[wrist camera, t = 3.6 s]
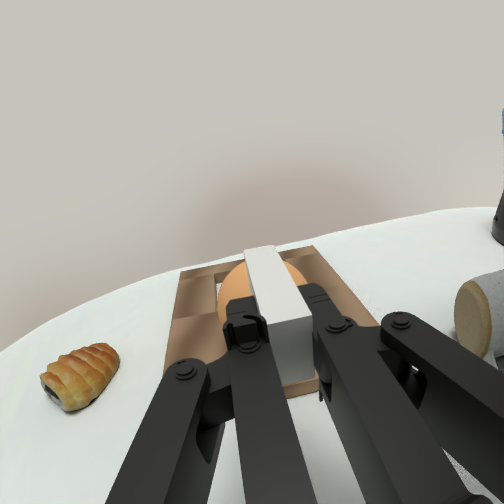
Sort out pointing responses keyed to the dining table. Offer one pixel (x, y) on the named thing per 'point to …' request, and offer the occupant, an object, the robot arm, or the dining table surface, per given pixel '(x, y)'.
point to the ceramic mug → (481, 316)
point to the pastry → (80, 375)
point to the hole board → (208, 323)
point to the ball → (244, 286)
